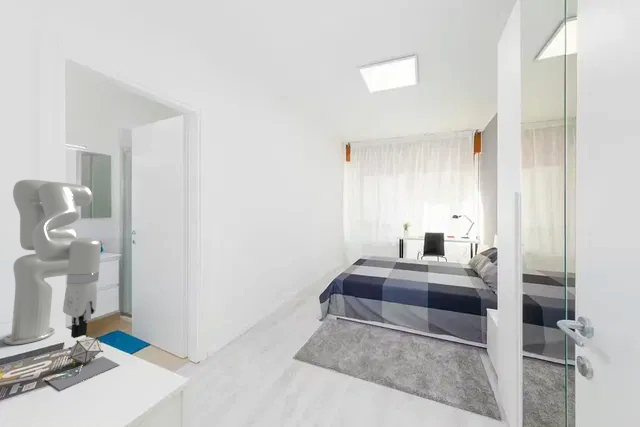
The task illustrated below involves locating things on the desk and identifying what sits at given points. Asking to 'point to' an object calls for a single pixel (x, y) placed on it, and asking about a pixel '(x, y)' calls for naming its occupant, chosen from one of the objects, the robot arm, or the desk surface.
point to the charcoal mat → (85, 372)
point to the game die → (85, 349)
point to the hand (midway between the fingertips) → (78, 335)
